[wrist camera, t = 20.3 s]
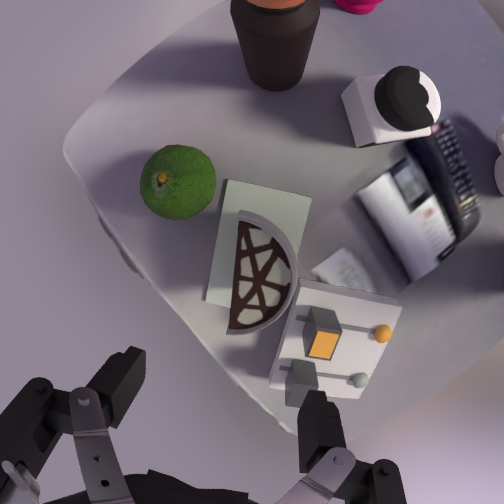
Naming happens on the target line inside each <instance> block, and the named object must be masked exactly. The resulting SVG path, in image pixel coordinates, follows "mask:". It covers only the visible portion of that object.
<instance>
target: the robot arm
mask: <svg viewBox="0 0 504 504" xmlns="http://www.w3.org/2000/svg"><path fill="white" fill-rule="evenodd" d="M145 370H146V352H145V350H142V349H139V348H136V347H133V346H130V347H129V348H128V349H127V351H126V352H125V353H124V354H123V353H121V352H117V353H115V354H114V355H112V356H110V357H109V358H108V360H107V361H106V362H105V364H103V366H102V367H101V369H99V371H98V372H97V373H96V374H95V376H94V377H93V378H92V379H91V380H90V382H89V383H88V384H87V385H86V387H78V388H75V389H74V390H72V391H71V392H67V391H62V390H57V389H54V388H53V385H52V383H51V382H50V381H49V380H47V379H45V378H41V377H38V378H33V379H31V380H30V381H29V382H28V383H27V384H26V385H25V386H24V387H23V389H22V390H21V391H20V392H19V393H18V394H17V396H16V397H15V398H14V399H13V400H12V401H11V403H10V404H9V405H8V406H7V407H6V409H5V410H4V411H3V412H2V413H1V415H0V504H39V502H38V501H39V495H40V487H39V485H38V483H37V481H36V478H37V476H38V475H39V473H40V471H41V469H42V468H43V466H44V464H45V462H46V460H47V459H48V457H49V455H50V454H51V452H52V450H53V449H54V447H55V445H56V444H57V442H58V440H59V439H60V437H61V435H62V434H63V433H66V434H71V435H73V437H74V442H75V447H76V452H77V456H78V460H79V465H80V468H81V472H82V476H83V480H84V483H85V486H86V490H85V491H82V492H79V493H76V494H73V495H70V496H67V497H63V498H61V499H57V500H54V501H50V502H46V503H44V504H258V503H257V502H254V501H252V500H249V499H248V493H244V492H238V491H232V490H226V489H198V488H195V487H192V486H190V485H188V484H186V483H184V482H182V481H180V480H178V479H176V478H174V477H172V476H169V475H166V474H162V473H159V472H156V471H153V470H150V469H149V470H148V473H147V474H129V475H124V476H123V473H122V471H121V468H120V465H119V463H118V460H117V457H116V454H115V451H114V448H113V445H112V442H111V439H110V435H109V433H108V430H107V429H108V427H109V426H111V427H113V428H116V429H117V427H118V426H119V424H120V422H121V420H122V419H123V417H124V415H125V413H126V412H127V410H128V408H129V407H130V405H131V403H132V401H133V400H134V398H135V396H136V395H137V393H138V391H139V390H140V388H141V386H142V384H143V382H144V379H145V373H146V371H145ZM341 424H342V423H341V419H340V414H339V410H338V408H337V407H336V405H335V404H334V403H333V402H328V401H327V397H326V392H325V391H320V390H313V389H310V390H309V391H308V393H307V395H306V397H305V399H304V401H303V403H302V406H301V408H300V410H299V413H298V418H297V425H298V444H299V468H300V473H307V475H306V476H305V477H304V478H302V479H301V480H300V481H299V482H298V483H297V484H296V485H295V486H294V487H293V488H292V489H291V490H289V491H288V492H287V493H286V494H285V495H284V496H283V497H282V498H281V499H280V500H279V501H278V502H277V503H275V504H327V503H328V502H329V501H330V499H331V498H332V497H335V498H339V499H342V500H345V504H407V503H406V498H405V494H404V489H403V484H402V480H401V476H400V472H399V468H398V466H397V465H396V464H395V463H394V462H392V461H390V460H387V459H380V460H378V461H376V462H375V463H374V464H369V463H366V462H361V461H359V460H357V459H356V458H355V456H354V455H353V453H352V452H351V451H349V450H347V448H346V443H345V438H344V433H343V428H342V426H341Z"/></svg>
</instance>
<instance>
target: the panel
mask: <svg viewBox="0 0 504 504" xmlns="http://www.w3.org/2000/svg"><path fill="white" fill-rule="evenodd" d="M311 306H314V307H319V308H324V309H329V310H335V313H336V315H337V318H338V320H339V323H340V325H341V328H342V331H343V332H342V335H341V337H340V339H339V342H338V344H337V347H336V349H335V352H334V354H333V356H332V359H331V361H327V360H320V359H314V358H308V357H305V353H304V346H303V339H302V332H303V329H304V326H305V323H306V320H307V317H308V314H309V311H310V308H311ZM402 308H403V307H402V306H401V305H400V304H399V302H398V301H397V300H396V299H395V298H392V297H387V296H382V295H377V294H372V293H368V292H363V291H358V290H354V289H349V288H344V287H340V286H335V285H330V284H326V283H321V282H316V281H312V280H307V279H303V278H299V280H298V283H297V287H296V290H295V294H294V297H293V301H292V304H291V307H290V311H289V314H288V317H287V321H286V324H285V327H284V330H283V334H282V337H281V340H280V343H279V346H278V349H277V353H276V356H275V359H274V362H273V365H272V368H271V371H270V374H269V388H275V389H280V390H285V379H286V377H287V374H288V371H289V369H290V366H291V363H292V361H293V359H296V360H302V361H308V362H314V363H315V367H316V372H317V378H318V384H319V388H318V390H320V391H325V392H326V396H331V397H341V398H352V399H358V398H359V397H360V395H361V393H362V391H363V389H364V388H365V386H366V385H367V384H368V383H369V379H370V377H371V375H372V373H373V371H374V369H375V367H376V365H377V363H378V361H379V359H380V357H381V355H382V353H383V351H384V349H385V347H386V345H387V343H388V341H389V340H390V338H391V337H392V332H393V329H394V327H395V325H396V322H397V320H398V318H399V315H400V313H401V311H402Z"/></svg>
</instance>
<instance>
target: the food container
mask: <svg viewBox="0 0 504 504" xmlns="http://www.w3.org/2000/svg"><path fill="white" fill-rule="evenodd" d="M236 220H239V225H238V237H237V246H236V256H235V266H234V275H233V286H232V298H231V308H230V320H229V325H228V328H227V332H226V335H246V334H250V333H254V332H257V331H259V330H262V329H264V328H265V327H267V326H269V325H270V324H272V323H273V322H274V321H276V320H277V319H278V318H279V317H280V316H281V315H282V314H283V313H284V312H285V310H286V309H287V307H288V306H289V304H290V302H291V300H292V297H293V295H294V293H295V290H296V286H297V282H298V262H297V258H296V254H295V251H294V249H293V247H292V245H291V243H290V241H289V240H288V238H287V237H286V235H285V234H284V233H283V232H282V231H281V230H280V229H279V228H278V227H277V226H276V225H275V224H273V223H272V222H271V221H270V220H268V219H266V218H264V217H262V216H261V215H258V214H256V213H253V212H250V211H245V210H240V211H239V213H238V217H237V219H236Z"/></svg>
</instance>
